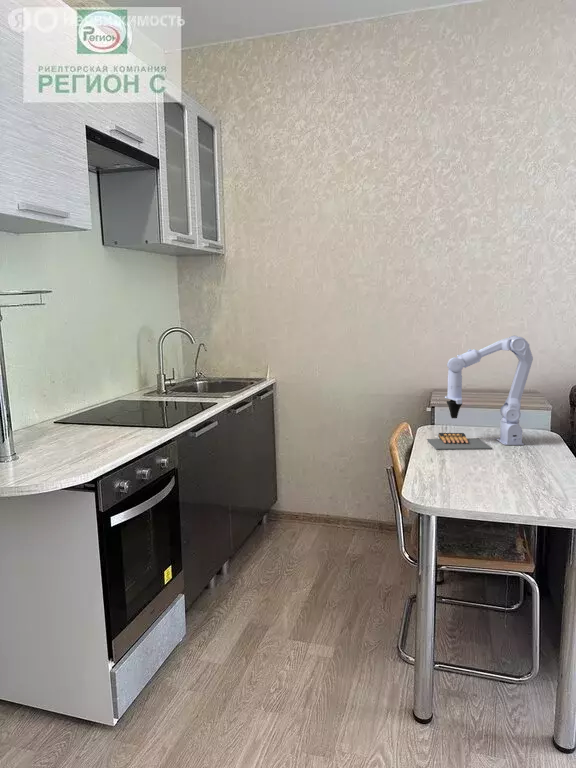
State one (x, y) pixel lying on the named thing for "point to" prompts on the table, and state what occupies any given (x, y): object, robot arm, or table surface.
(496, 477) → the table surface
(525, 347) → the robot arm
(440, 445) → the mat
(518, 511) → the table surface
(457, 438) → the ammunition clip
